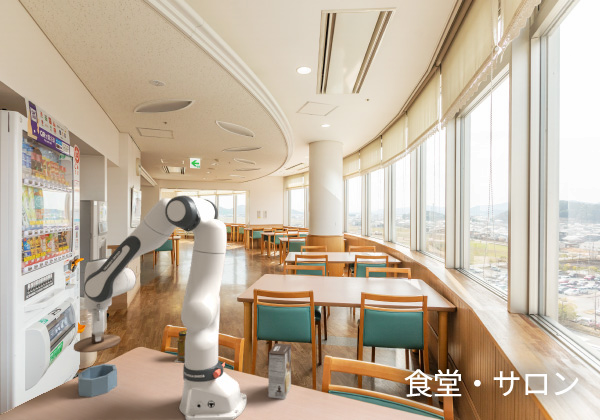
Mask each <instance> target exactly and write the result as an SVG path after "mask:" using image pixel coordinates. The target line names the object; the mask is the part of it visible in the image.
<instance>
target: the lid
mask: <svg viewBox="0 0 600 420" xmlns="http://www.w3.org/2000/svg"><path fill="white" fill-rule="evenodd" d="M120 343H121V337H120V335H117V334H105V332H104V333H101V341H97V342H96V341H95V334H93V333H92V332H91V336H89V337H88V336H87V337H86V338H83V339H81V340H77V342H75V343H74V344H73V350H74V351H75V352H77V353H95V352H100V351H101V352H102V351H105V350H108V349H111V348H114V347H116V346H118V345H119V344H120Z"/></svg>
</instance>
